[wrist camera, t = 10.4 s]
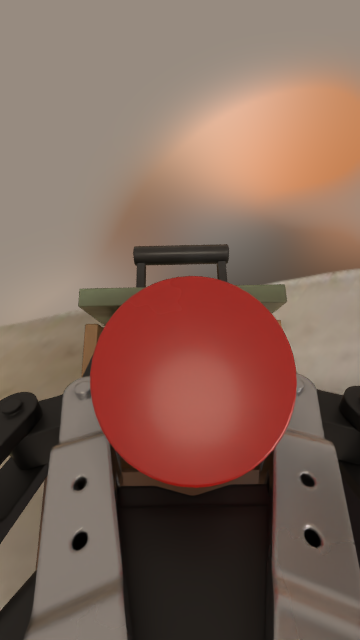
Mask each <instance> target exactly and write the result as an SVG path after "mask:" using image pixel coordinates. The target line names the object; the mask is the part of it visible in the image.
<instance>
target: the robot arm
mask: <svg viewBox="0 0 360 640" xmlns="http://www.w3.org/2000/svg"><path fill="white" fill-rule="evenodd" d="M93 354H94V353H93ZM92 358H93V355H92V357H91V359H90V362H89V364H88V366H87V368H86V370H85V372H84V374H83V377H82V378H79V379H77V380H75V381H73V382H72V383H71V384H69V385H68V386H67V387H66V389H65V390H64V393H63V395H60V396H57V397H53V398H49V399H45V400H42V401H38V400H37V398H36V396H35V395H34V394H32V393H30V392H20V393H16V394H13V395H10V396H8V397H6V398H4V399H2V400H1V401H0V465H1V464H2V462H3V461H4V460H5V459H6V458H7V457H8V456H9V455H10V456H11V457H10V459H9V460H8V461H7V462H6V463H5V464H4V466H3V467H2V468H1V469H0V544H1V542H2V541H3V539H4V538H5V536H6V535H7V533H8V532H9V530H10V529H11V528H12V526H13V525H14V523H15V522H16V520H17V519H18V517H19V516H20V515H21V513H22V512H23V510H24V509H25V507H26V506H27V504H28V503H29V501H30V500H31V499H32V497H33V496H34V494H35V493H36V491H37V490H38V488H39V487H40V485H41V484H42V483H43V481H44V480H45V478H46V477H47V475H48V478H47V486H46V495H45V504H44V513H43V522H42V531H41V540H40V549H39V558H38V567H37V570H36V571H35V572H34V573H33V574H32V575H31V577H30V578H29V579H28V580H27V581H26V582H25V583H24V585H23V586H22V587H21V588H20V589H19V590H18V591H17V593H16V594H15V595H14V596H13V597H12V598H11V599H10V601H9V602H8V603H7V604H6V605H5V606H4V607H3V608H2V610H1V611H0V640H360V568H359V563H358V558H357V553H356V548H355V543H354V538H353V533H352V529H351V524H350V519H349V514H348V509H347V504H346V499H345V494H344V489H343V484H342V479H343V480H344V481H345V483H346V484H347V485H348V487H349V488H350V489H351V490H352V492H353V493H354V494H355V495H356V497H357V498H358V499H359V500H360V386H352V387H349V388H347V389H346V391H345V393H344V395H339V394H334V393H329V392H325V391H321V390H318V389H316V387H315V385H314V384H313V383H312V382H311V381H310V380H309V379H308V378H306V377H304V376H302V375H300V374H297V373H296V378H297V388H296V399H295V404H294V409H293V413H292V416H291V419H290V422H289V425H288V427H287V429H286V431H285V433H284V435H283V437H282V438H281V440H280V441H279V443H278V444H277V446H276V447H275V448H274V450H273V451H272V452H271V453H270V454H269V455H268V456H267V457H266V459H265V460H264V461H262V462H261V463H260V464H259V477H258V484H230V485H227V486H223V487H220V488H217V489H214V490H211V491H208V492H205V493H201V494H198V495H193V496H191V495H187V494H183V493H180V492H176V491H173V490H169V489H165V488H162V487H158V486H125V485H124V479H123V472H122V464H121V457H120V455H119V454H118V453H117V452H116V450H115V449H114V448H113V447H112V445H111V444H110V443H109V441H108V440H107V438H106V436H105V435H104V433H103V431H102V429H101V427H100V425H99V422H98V420H97V417H96V415H95V411H94V407H93V404H92V398H91V390H90V371H91V363H92ZM341 478H342V479H341Z"/></svg>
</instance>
